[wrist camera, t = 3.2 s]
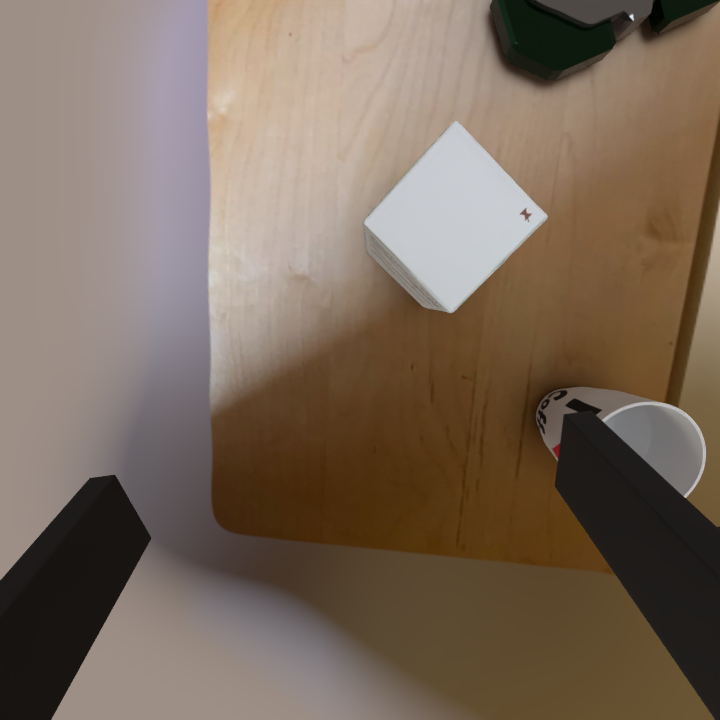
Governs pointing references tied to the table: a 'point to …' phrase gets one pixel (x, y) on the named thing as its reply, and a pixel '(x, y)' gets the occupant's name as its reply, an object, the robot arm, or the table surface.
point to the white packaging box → (450, 222)
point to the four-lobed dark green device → (579, 29)
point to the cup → (633, 430)
